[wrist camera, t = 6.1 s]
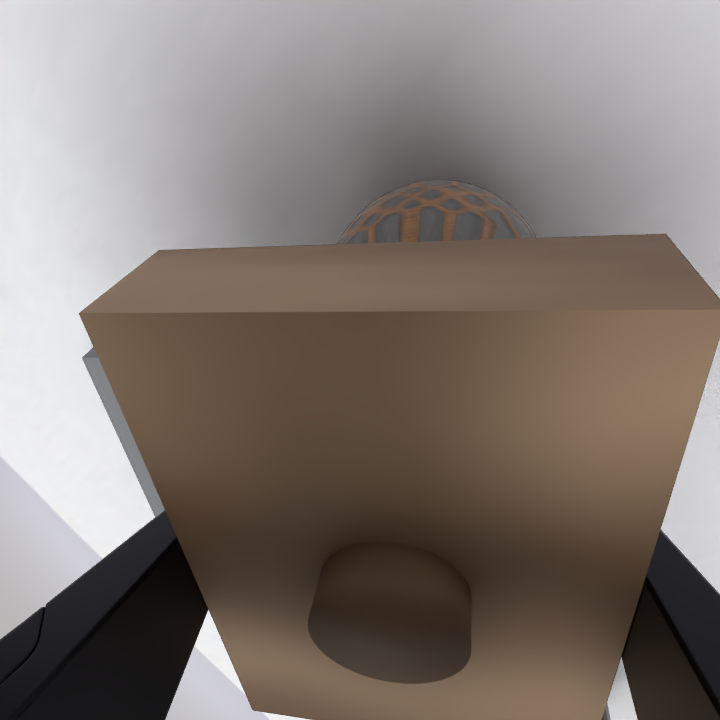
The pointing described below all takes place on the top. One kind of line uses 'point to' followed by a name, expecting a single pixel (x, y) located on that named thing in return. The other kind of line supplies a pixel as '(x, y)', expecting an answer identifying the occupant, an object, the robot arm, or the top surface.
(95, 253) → the top surface
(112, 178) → the top surface
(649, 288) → the lid
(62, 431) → the top surface
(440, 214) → the vase
